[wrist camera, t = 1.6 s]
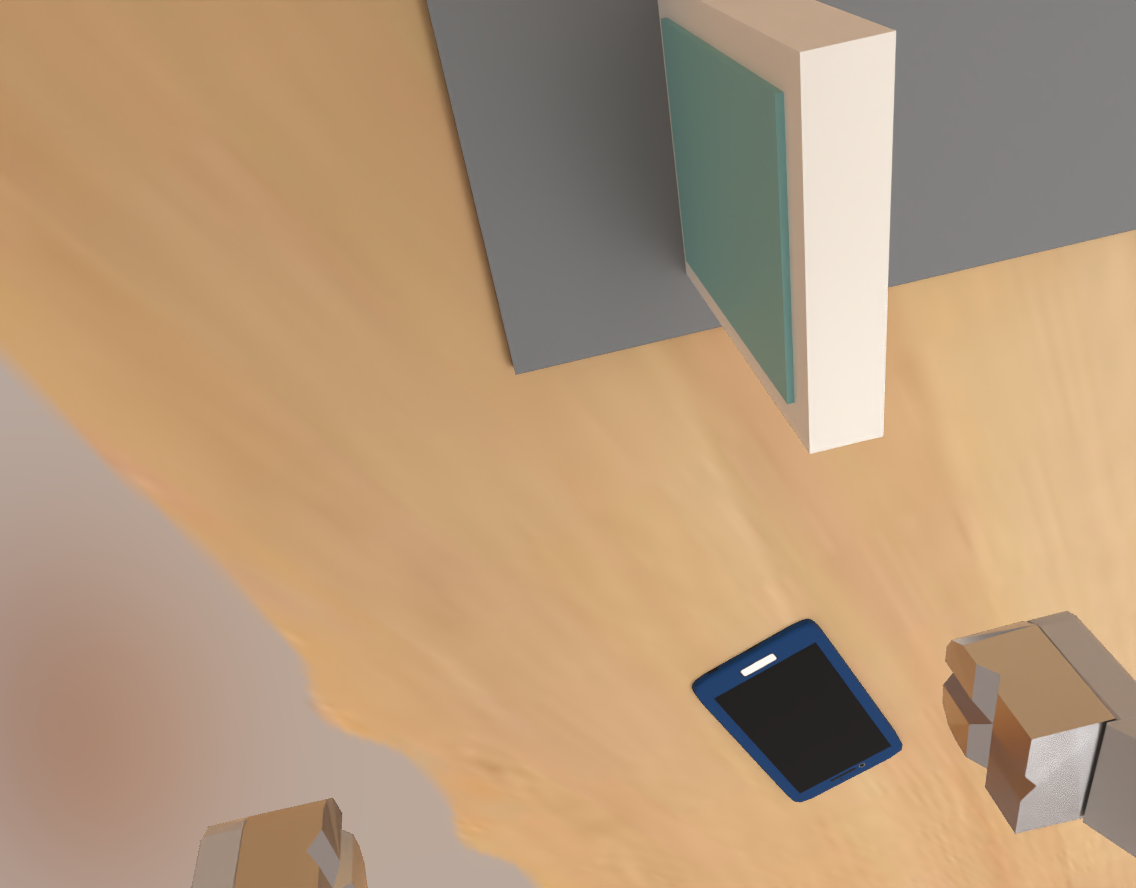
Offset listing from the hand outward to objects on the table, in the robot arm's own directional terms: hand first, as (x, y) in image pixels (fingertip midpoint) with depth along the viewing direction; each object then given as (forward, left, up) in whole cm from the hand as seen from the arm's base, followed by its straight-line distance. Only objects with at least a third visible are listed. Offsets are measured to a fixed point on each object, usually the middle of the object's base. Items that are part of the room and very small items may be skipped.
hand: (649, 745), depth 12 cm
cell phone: (+33, +10, -24) cm, 42 cm away
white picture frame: (0, +7, -23) cm, 24 cm away
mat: (0, +14, -24) cm, 28 cm away
